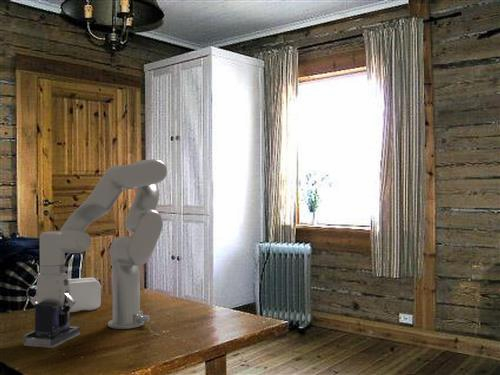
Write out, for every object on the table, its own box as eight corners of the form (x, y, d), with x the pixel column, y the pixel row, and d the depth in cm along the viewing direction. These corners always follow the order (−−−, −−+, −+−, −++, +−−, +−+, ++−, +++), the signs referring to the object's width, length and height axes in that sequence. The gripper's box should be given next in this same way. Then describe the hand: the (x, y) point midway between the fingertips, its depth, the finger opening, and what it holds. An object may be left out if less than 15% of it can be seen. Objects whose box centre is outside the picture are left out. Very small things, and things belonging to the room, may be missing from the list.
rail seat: (79, 334, 170) (79, 324, 170) (53, 347, 156) (53, 337, 156) (52, 332, 172) (52, 322, 172) (23, 345, 158) (23, 335, 158)
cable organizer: (61, 313, 198) (61, 283, 198) (59, 307, 207) (58, 279, 207) (100, 309, 204) (100, 280, 204) (97, 303, 214) (96, 276, 214)
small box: (52, 338, 158) (52, 305, 158) (33, 337, 159) (33, 304, 159) (71, 329, 168) (70, 297, 168) (53, 328, 170) (53, 296, 170)
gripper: (82, 268, 165) (83, 323, 166) (36, 267, 169) (37, 320, 170) (69, 272, 158) (70, 330, 158) (21, 271, 162) (22, 326, 162)
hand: (53, 324), depth 164 cm, fingers closed on small box, 6 cm apart
